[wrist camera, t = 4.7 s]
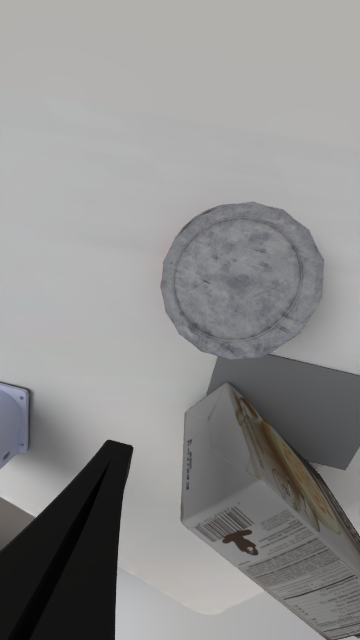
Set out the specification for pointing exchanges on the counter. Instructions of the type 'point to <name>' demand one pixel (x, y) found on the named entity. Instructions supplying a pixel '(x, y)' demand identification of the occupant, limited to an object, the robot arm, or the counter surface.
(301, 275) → the canned food
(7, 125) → the counter surface
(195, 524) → the coffee box
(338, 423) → the mat
